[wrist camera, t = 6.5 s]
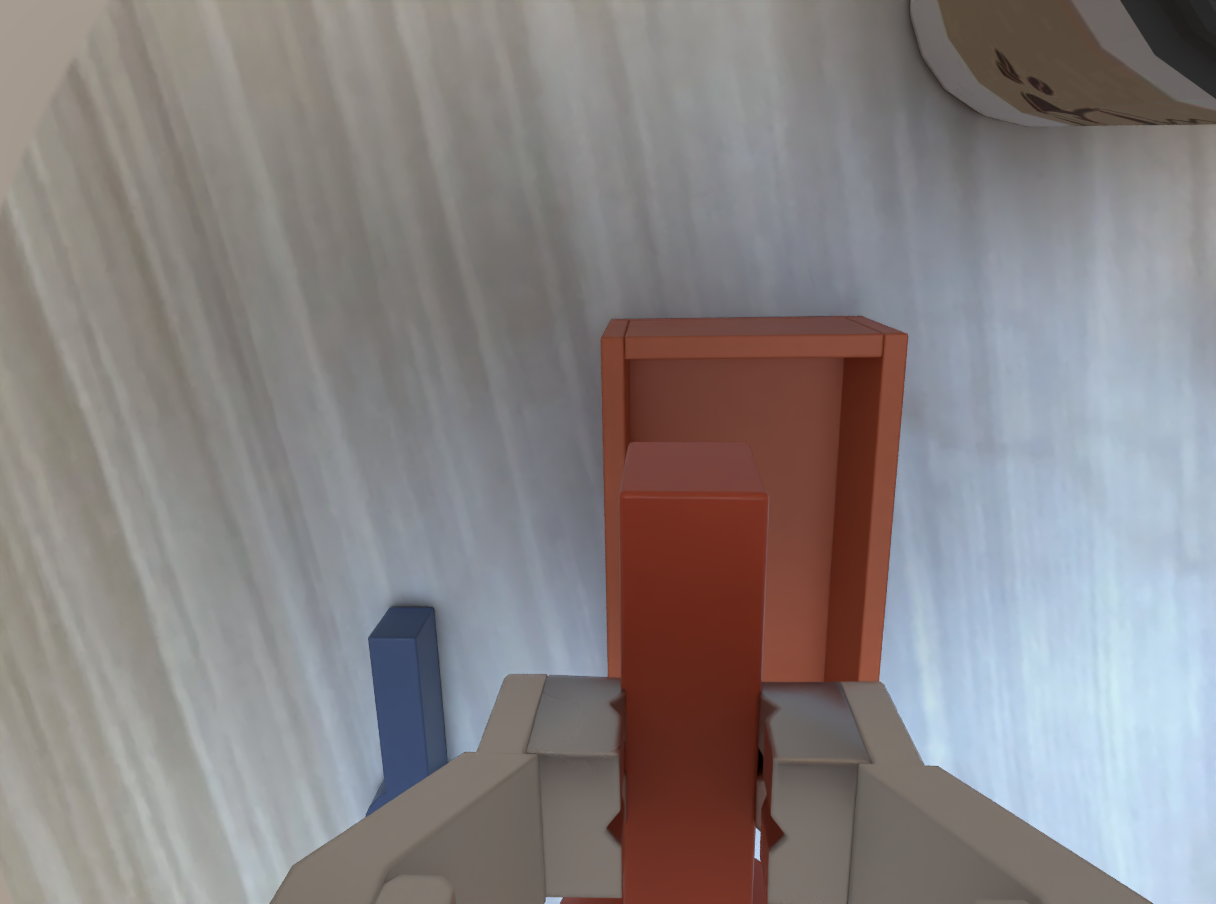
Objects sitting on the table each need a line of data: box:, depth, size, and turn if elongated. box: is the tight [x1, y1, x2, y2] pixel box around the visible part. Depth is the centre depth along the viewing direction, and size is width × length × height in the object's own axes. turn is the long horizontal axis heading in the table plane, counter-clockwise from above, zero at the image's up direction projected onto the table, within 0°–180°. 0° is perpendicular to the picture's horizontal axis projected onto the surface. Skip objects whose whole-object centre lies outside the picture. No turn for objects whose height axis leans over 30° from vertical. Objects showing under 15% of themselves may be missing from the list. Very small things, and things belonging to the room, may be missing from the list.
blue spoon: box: [366, 607, 447, 817], centre depth 27 cm, size 10×4×2 cm, turn 1°
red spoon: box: [560, 442, 769, 904], centre depth 11 cm, size 10×4×2 cm, turn 1°
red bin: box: [601, 316, 908, 682], centre depth 23 cm, size 8×14×4 cm, turn 1°
